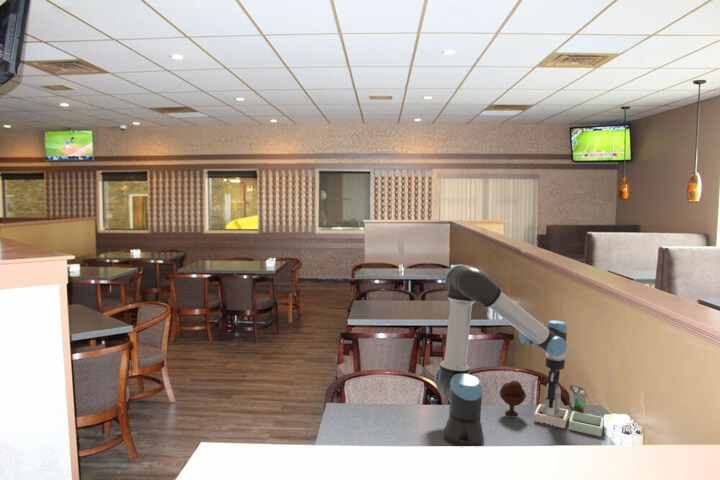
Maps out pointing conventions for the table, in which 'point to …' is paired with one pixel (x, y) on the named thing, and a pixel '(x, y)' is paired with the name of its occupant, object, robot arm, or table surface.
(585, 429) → the green bin
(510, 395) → the ice cream bowl
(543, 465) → the table surface
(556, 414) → the energy drink can
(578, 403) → the food container
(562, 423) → the beige bin
